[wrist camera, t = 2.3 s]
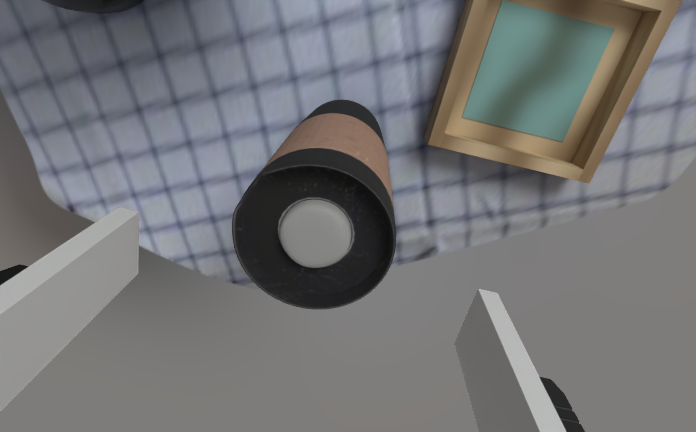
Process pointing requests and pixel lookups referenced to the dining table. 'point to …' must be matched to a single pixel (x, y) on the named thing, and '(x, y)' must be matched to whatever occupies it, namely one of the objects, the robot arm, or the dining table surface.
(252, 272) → the travel mug
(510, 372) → the robot arm
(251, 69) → the dining table surface
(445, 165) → the dining table surface
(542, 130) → the tray
